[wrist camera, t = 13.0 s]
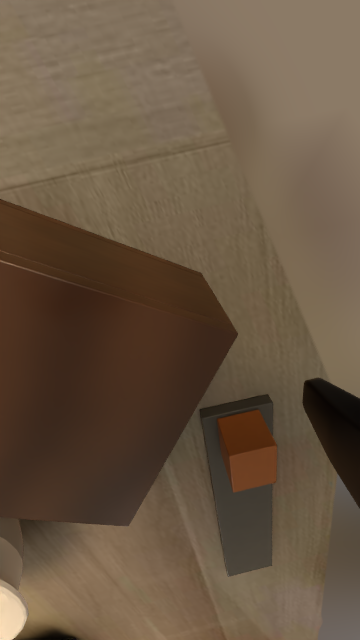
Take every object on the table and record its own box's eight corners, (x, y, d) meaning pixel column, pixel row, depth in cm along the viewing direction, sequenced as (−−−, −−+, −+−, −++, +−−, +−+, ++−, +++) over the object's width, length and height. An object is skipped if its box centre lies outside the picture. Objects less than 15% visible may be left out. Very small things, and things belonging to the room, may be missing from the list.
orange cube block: (216, 418, 24) (228, 456, 21) (258, 408, 25) (277, 445, 22) (220, 453, 27) (233, 493, 24) (259, 444, 27) (276, 482, 24)
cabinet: (-59, 396, 21) (-146, 508, 14) (-38, 184, 15) (-168, 207, 8) (129, 429, 25) (128, 527, 18) (201, 272, 19) (238, 334, 13)
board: (199, 409, 25) (202, 418, 24) (268, 394, 25) (273, 402, 25) (225, 567, 40) (227, 576, 39) (269, 556, 40) (271, 565, 39)
